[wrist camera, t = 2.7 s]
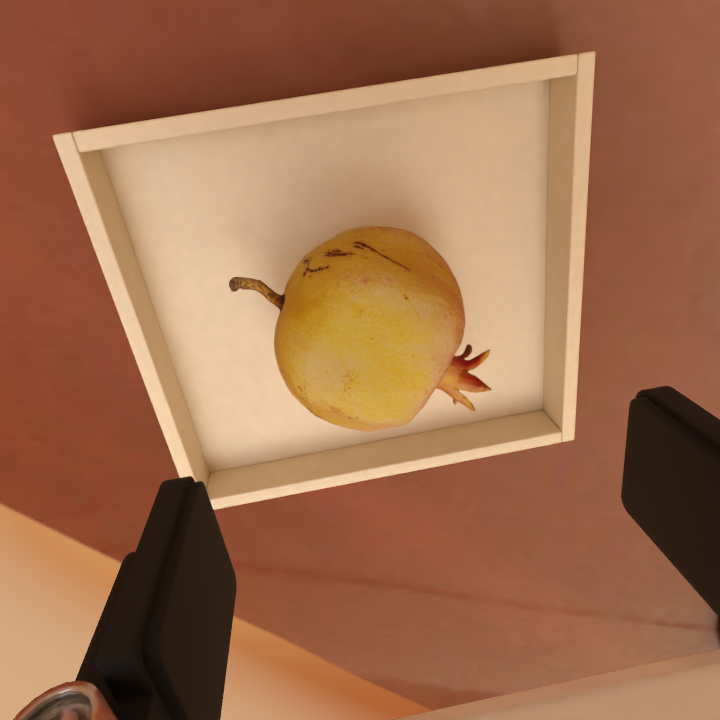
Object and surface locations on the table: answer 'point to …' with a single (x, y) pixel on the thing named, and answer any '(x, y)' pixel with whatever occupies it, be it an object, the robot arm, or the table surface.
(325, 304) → the fruit
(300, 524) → the table surface
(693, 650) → the table surface
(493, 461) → the table surface
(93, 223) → the tray
